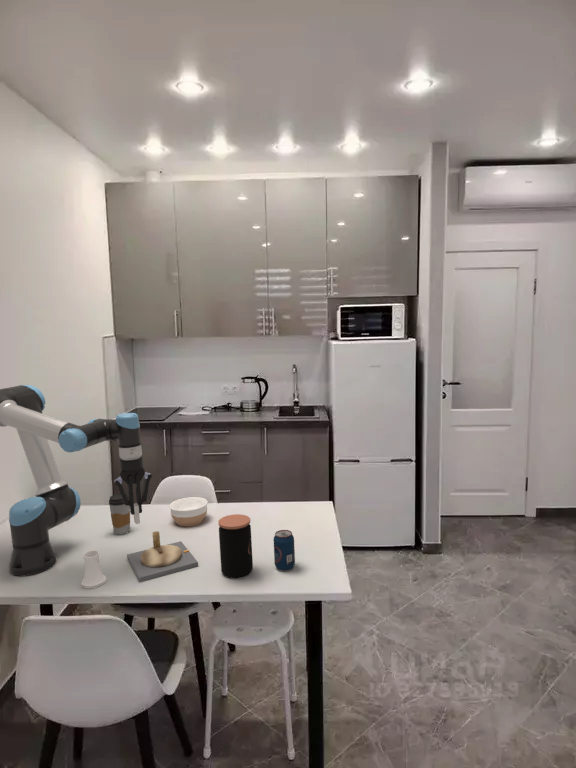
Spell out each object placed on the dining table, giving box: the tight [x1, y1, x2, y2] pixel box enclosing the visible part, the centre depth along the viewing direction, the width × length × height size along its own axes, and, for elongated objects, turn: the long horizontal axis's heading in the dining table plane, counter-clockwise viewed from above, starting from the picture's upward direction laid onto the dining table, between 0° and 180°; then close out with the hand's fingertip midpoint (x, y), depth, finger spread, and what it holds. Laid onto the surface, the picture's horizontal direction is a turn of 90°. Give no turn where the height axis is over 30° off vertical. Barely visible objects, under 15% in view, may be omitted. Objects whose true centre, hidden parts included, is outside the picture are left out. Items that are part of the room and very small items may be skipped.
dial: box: [141, 530, 182, 567], centre depth 180 cm, size 14×14×7 cm
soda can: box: [273, 529, 296, 572], centre depth 173 cm, size 7×7×12 cm
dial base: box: [126, 541, 199, 583], centre depth 181 cm, size 20×20×2 cm
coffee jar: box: [217, 513, 254, 580], centre depth 170 cm, size 11×11×18 cm
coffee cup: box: [108, 493, 131, 535], centre depth 208 cm, size 8×8×15 cm
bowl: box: [169, 496, 209, 527], centre depth 217 cm, size 16×16×8 cm
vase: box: [81, 550, 107, 590], centre depth 168 cm, size 8×8×10 cm
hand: (137, 522), depth 181 cm, fingers closed
